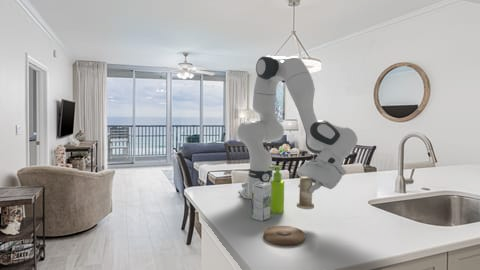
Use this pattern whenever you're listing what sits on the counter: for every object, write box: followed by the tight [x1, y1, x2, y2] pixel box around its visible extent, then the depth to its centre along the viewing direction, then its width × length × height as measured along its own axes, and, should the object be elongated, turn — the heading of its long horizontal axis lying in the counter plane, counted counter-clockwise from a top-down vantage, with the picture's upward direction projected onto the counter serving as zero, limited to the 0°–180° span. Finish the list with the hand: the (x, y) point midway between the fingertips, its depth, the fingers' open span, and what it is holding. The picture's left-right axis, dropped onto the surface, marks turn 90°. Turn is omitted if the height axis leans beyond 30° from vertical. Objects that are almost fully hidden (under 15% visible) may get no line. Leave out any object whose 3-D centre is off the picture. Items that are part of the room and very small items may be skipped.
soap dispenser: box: [269, 165, 285, 214], centre depth 131 cm, size 6×7×20 cm
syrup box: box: [251, 182, 272, 222], centre depth 122 cm, size 6×6×14 cm
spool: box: [296, 176, 315, 210], centre depth 114 cm, size 6×6×11 cm
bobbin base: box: [263, 225, 306, 247], centre depth 104 cm, size 14×14×2 cm
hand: (304, 189), depth 113 cm, fingers closed on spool, 5 cm apart
